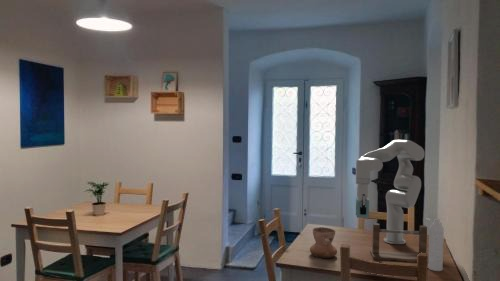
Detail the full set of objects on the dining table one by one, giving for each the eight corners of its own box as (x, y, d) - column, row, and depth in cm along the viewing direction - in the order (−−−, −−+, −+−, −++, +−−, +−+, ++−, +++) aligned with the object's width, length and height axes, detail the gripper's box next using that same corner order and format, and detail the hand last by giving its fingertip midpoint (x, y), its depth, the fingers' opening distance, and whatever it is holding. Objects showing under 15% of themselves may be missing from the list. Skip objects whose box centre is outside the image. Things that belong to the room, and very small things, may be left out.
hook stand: (370, 252, 223) (370, 221, 222) (423, 255, 219) (424, 223, 218) (373, 259, 211) (374, 226, 211) (429, 263, 207) (430, 229, 206)
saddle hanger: (355, 215, 229) (356, 197, 228) (367, 215, 228) (367, 198, 227) (356, 217, 223) (357, 199, 223) (368, 218, 222) (369, 200, 221)
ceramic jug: (340, 261, 208) (341, 233, 208) (312, 260, 207) (313, 233, 207) (332, 251, 226) (333, 225, 226) (306, 250, 225) (307, 225, 225)
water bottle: (438, 266, 201) (440, 217, 201) (444, 271, 195) (446, 220, 194) (421, 266, 202) (422, 217, 201) (426, 271, 195) (428, 220, 194)
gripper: (354, 178, 234) (354, 209, 234) (357, 183, 217) (356, 216, 217) (368, 179, 232) (367, 210, 233) (372, 183, 215) (371, 216, 216)
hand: (362, 212), depth 225 cm, fingers closed on saddle hanger, 6 cm apart
